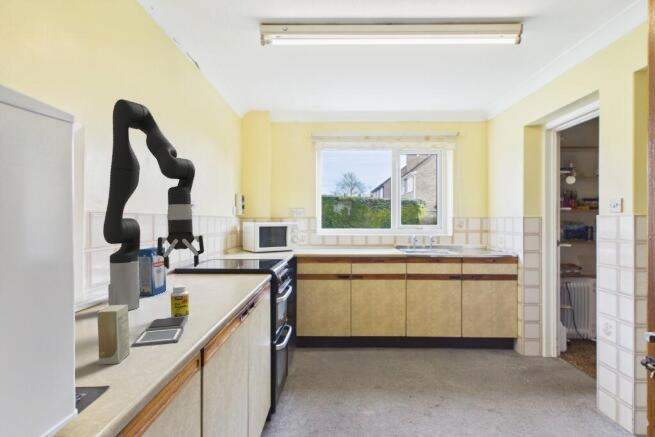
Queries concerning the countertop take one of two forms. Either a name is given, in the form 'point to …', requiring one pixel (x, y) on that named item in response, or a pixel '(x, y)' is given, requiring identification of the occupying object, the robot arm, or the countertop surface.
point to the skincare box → (113, 334)
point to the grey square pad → (158, 337)
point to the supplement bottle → (179, 302)
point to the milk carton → (151, 272)
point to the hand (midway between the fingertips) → (181, 267)
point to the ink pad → (167, 324)
